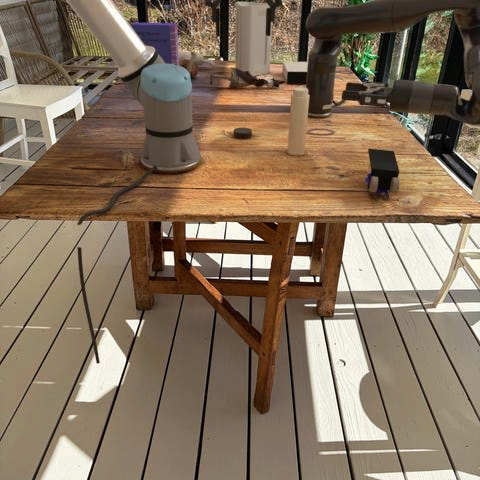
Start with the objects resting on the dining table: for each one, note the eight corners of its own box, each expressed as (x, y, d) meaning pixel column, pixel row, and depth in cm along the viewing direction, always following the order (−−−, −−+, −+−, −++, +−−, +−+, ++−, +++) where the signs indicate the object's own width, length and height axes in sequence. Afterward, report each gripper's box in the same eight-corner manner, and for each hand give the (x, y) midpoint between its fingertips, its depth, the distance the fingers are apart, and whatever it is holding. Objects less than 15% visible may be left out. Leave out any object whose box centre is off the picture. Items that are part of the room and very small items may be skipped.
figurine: (210, 87, 179) (288, 95, 182) (212, 65, 176) (291, 73, 180) (208, 84, 201) (278, 91, 205) (210, 64, 198) (280, 71, 202)
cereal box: (180, 88, 189) (177, 22, 177) (178, 91, 185) (174, 24, 173) (137, 87, 190) (130, 21, 178) (134, 90, 186) (127, 23, 173)
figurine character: (397, 209, 105) (389, 175, 117) (404, 179, 101) (395, 147, 112) (366, 207, 106) (361, 173, 118) (371, 177, 101) (366, 145, 113)
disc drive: (287, 84, 198) (287, 71, 196) (281, 72, 218) (282, 61, 215) (329, 84, 199) (330, 72, 196) (320, 72, 218) (321, 61, 216)
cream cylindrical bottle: (307, 154, 130) (313, 90, 121) (293, 156, 128) (298, 92, 119) (298, 148, 134) (303, 86, 125) (284, 151, 132) (288, 87, 123)
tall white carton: (273, 76, 210) (276, 6, 196) (239, 77, 209) (240, 6, 194) (266, 67, 226) (268, 2, 212) (235, 67, 225) (235, 1, 210)
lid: (239, 132, 145) (239, 126, 144) (254, 135, 143) (255, 129, 142) (230, 137, 141) (230, 131, 140) (246, 140, 139) (246, 134, 138)
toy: (170, 75, 210) (169, 59, 206) (146, 65, 227) (145, 49, 223) (217, 69, 221) (217, 53, 218) (191, 60, 239) (191, 45, 235)
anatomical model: (190, 85, 210) (181, 86, 196) (175, 71, 209) (165, 71, 195) (208, 63, 206) (200, 61, 191) (193, 48, 205) (184, 46, 191)
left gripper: (195, -60, 111) (197, 38, 122) (298, -58, 115) (291, 37, 126) (192, -59, 118) (195, 33, 129) (290, -57, 122) (284, 33, 133)
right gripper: (414, 74, 119) (349, 69, 123) (415, 88, 108) (342, 81, 111) (408, 104, 123) (345, 98, 127) (408, 120, 112) (338, 113, 115)
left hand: (243, 35), depth 128 cm, fingers open, 13 cm apart
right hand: (344, 90), depth 119 cm, fingers open, 8 cm apart
